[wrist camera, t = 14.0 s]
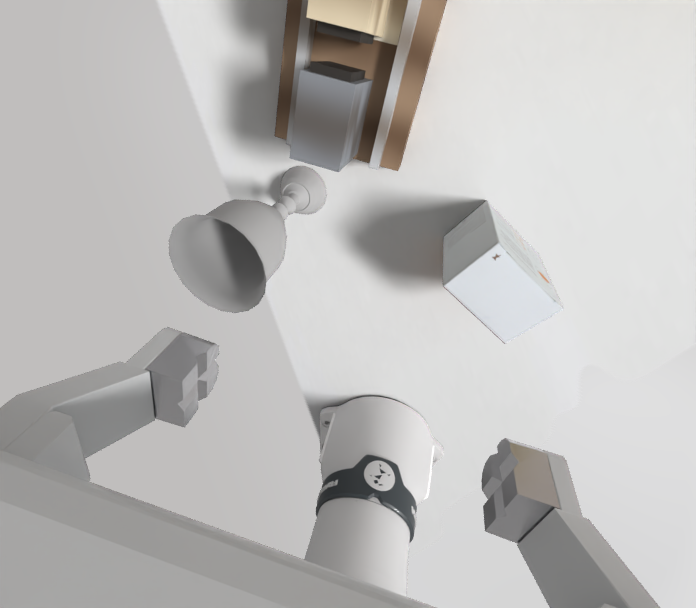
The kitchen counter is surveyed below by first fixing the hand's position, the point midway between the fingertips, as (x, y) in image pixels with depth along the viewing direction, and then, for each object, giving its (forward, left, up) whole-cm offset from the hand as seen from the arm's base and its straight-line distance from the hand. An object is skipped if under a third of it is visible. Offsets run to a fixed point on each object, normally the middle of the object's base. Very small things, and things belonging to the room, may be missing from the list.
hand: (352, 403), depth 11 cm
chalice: (-6, +11, -31) cm, 34 cm away
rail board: (+8, +8, -31) cm, 33 cm away
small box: (-6, -9, -31) cm, 33 cm away
